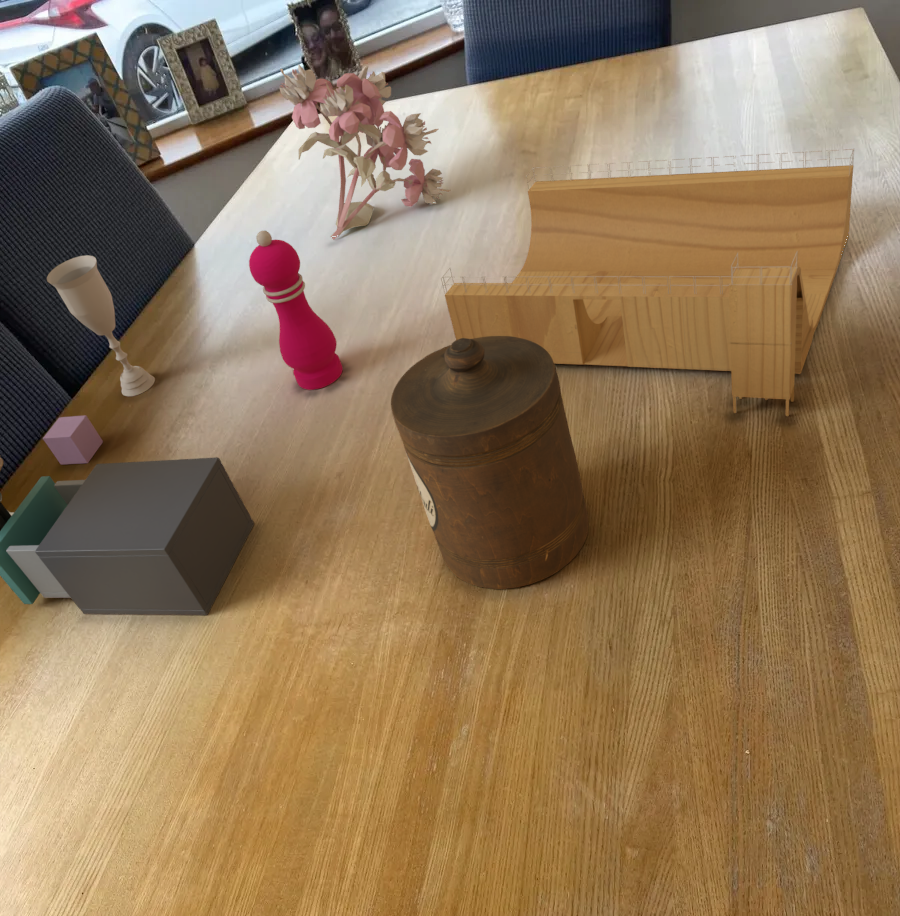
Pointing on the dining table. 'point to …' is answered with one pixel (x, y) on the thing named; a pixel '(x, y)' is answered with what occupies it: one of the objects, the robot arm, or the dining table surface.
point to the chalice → (96, 312)
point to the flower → (354, 115)
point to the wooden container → (493, 459)
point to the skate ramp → (675, 272)
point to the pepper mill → (295, 314)
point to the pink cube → (73, 440)
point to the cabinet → (148, 538)
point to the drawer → (34, 540)
